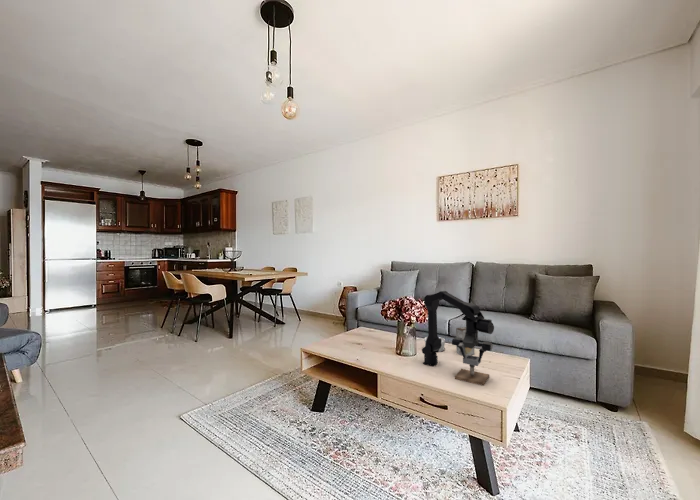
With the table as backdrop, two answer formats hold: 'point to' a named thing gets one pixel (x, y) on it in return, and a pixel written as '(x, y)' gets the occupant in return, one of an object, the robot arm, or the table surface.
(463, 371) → the square knob plate
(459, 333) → the coffee box
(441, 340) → the ramekin
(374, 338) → the table surface
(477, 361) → the metal link
